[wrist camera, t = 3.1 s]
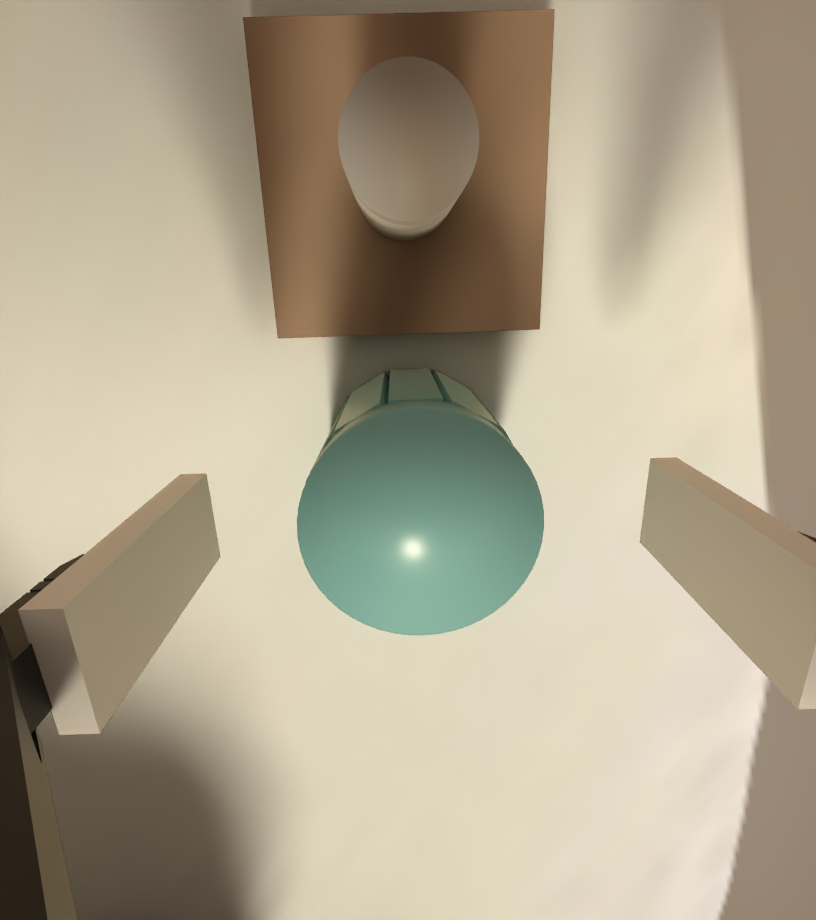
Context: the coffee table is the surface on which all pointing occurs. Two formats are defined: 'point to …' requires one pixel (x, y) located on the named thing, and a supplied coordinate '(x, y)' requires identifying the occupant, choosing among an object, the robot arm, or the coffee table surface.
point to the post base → (319, 188)
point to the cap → (419, 508)
